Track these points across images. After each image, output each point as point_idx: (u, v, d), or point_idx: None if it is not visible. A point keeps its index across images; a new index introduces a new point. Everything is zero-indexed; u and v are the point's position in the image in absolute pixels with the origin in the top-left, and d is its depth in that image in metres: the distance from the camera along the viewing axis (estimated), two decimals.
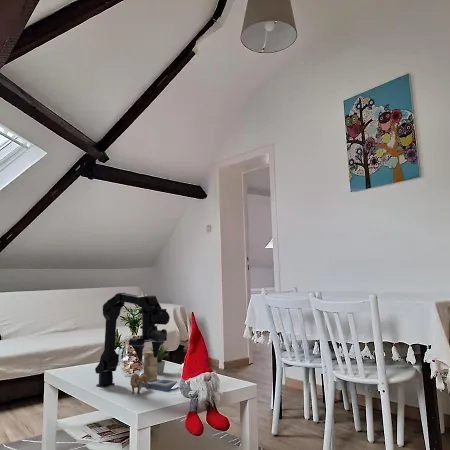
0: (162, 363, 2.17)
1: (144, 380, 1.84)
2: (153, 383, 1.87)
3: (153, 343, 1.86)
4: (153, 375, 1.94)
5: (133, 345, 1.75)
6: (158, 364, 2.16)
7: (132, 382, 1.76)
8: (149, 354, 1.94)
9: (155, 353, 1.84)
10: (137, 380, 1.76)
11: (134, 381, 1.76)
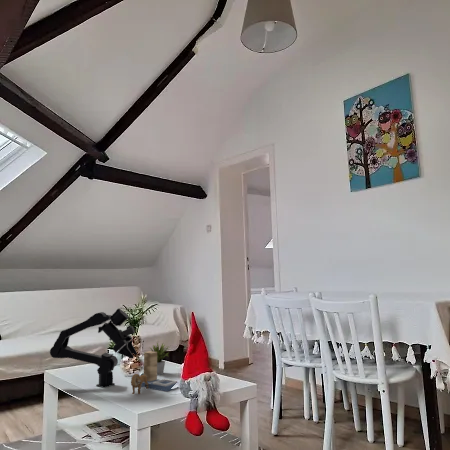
0: (162, 363, 2.17)
1: (144, 380, 1.84)
2: (153, 383, 1.87)
3: None
4: (153, 375, 1.94)
5: (119, 350, 1.89)
6: (158, 364, 2.16)
7: (133, 382, 1.76)
8: (149, 354, 1.94)
9: (134, 351, 2.01)
10: (138, 380, 1.76)
11: (135, 381, 1.76)
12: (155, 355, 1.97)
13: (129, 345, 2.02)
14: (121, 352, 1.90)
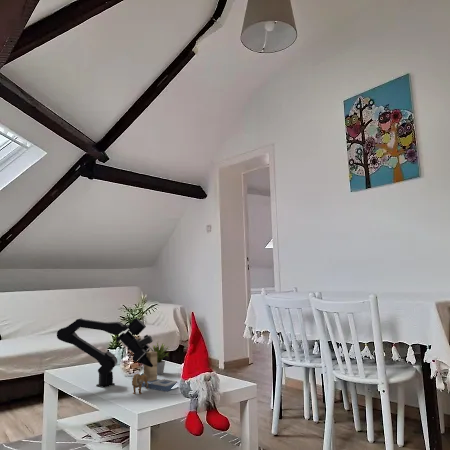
0: (162, 363, 2.17)
1: (145, 380, 1.84)
2: (153, 383, 1.87)
3: None
4: (153, 375, 1.94)
5: (139, 359, 1.90)
6: (158, 364, 2.16)
7: (134, 382, 1.76)
8: (149, 354, 1.94)
9: None
10: (139, 380, 1.76)
11: (136, 381, 1.76)
12: (155, 355, 1.97)
13: None
14: (141, 361, 1.91)
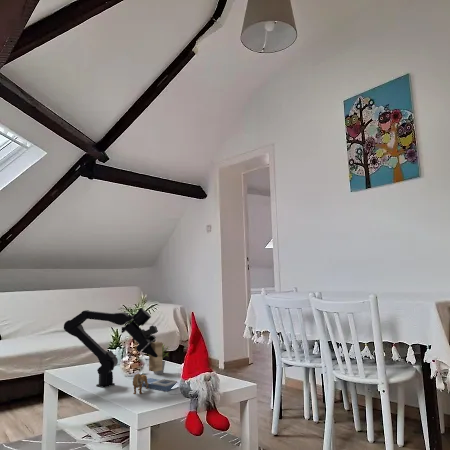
0: (162, 363, 2.17)
1: (145, 380, 1.85)
2: (153, 383, 1.87)
3: None
4: (159, 365, 1.93)
5: (143, 349, 1.89)
6: None
7: (135, 382, 1.76)
8: (154, 344, 1.93)
9: None
10: (140, 380, 1.76)
11: (137, 381, 1.76)
12: (160, 345, 1.95)
13: None
14: (145, 351, 1.91)
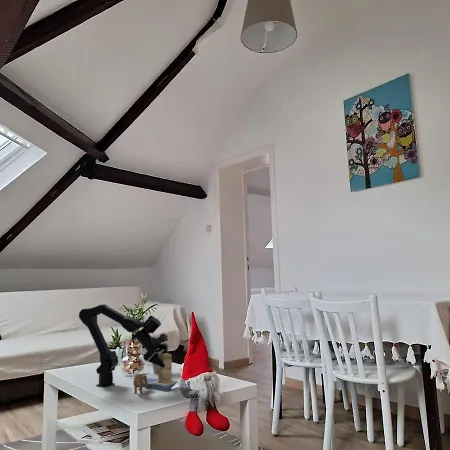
0: None
1: (145, 380, 1.85)
2: (153, 383, 1.87)
3: None
4: (167, 379, 1.87)
5: (149, 358, 1.83)
6: None
7: (136, 382, 1.76)
8: (162, 357, 1.87)
9: None
10: (141, 380, 1.76)
11: (138, 381, 1.76)
12: (169, 358, 1.89)
13: (164, 353, 1.95)
14: (152, 361, 1.84)
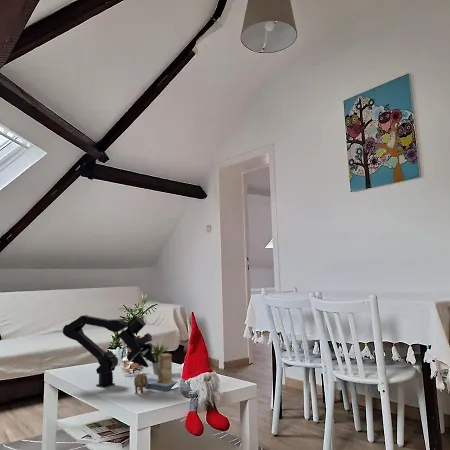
0: None
1: (145, 380, 1.85)
2: (153, 383, 1.87)
3: (145, 355, 1.97)
4: (167, 379, 1.87)
5: (133, 358, 1.85)
6: None
7: (137, 382, 1.76)
8: (162, 357, 1.87)
9: (152, 359, 1.95)
10: (143, 380, 1.77)
11: (140, 381, 1.76)
12: (169, 358, 1.89)
13: (148, 353, 1.97)
14: (135, 361, 1.86)
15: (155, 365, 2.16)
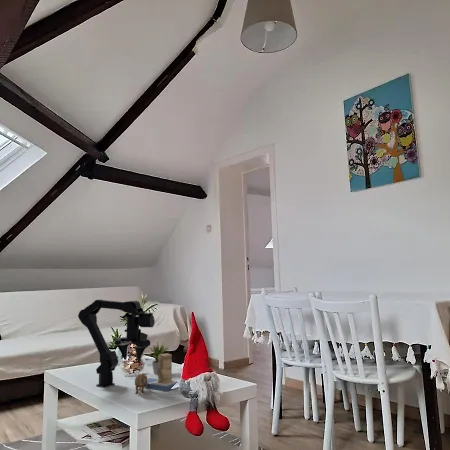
0: None
1: (145, 379, 1.85)
2: (153, 383, 1.87)
3: (122, 347, 1.95)
4: (167, 379, 1.87)
5: None
6: None
7: (138, 382, 1.76)
8: (162, 357, 1.87)
9: (125, 355, 1.95)
10: (143, 379, 1.77)
11: (140, 381, 1.76)
12: (169, 358, 1.89)
13: (125, 347, 1.96)
14: (139, 350, 1.88)
15: (155, 365, 2.16)
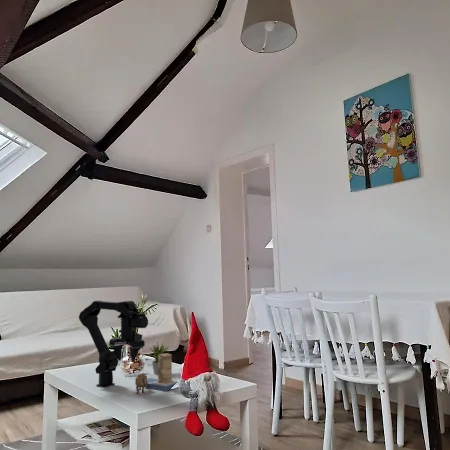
0: None
1: None
2: (153, 383, 1.87)
3: (116, 347, 1.93)
4: (167, 379, 1.87)
5: None
6: None
7: (139, 382, 1.76)
8: (162, 357, 1.87)
9: (120, 356, 1.93)
10: (144, 379, 1.77)
11: (141, 380, 1.76)
12: (169, 358, 1.89)
13: (120, 348, 1.94)
14: (133, 350, 1.86)
15: (155, 365, 2.16)
